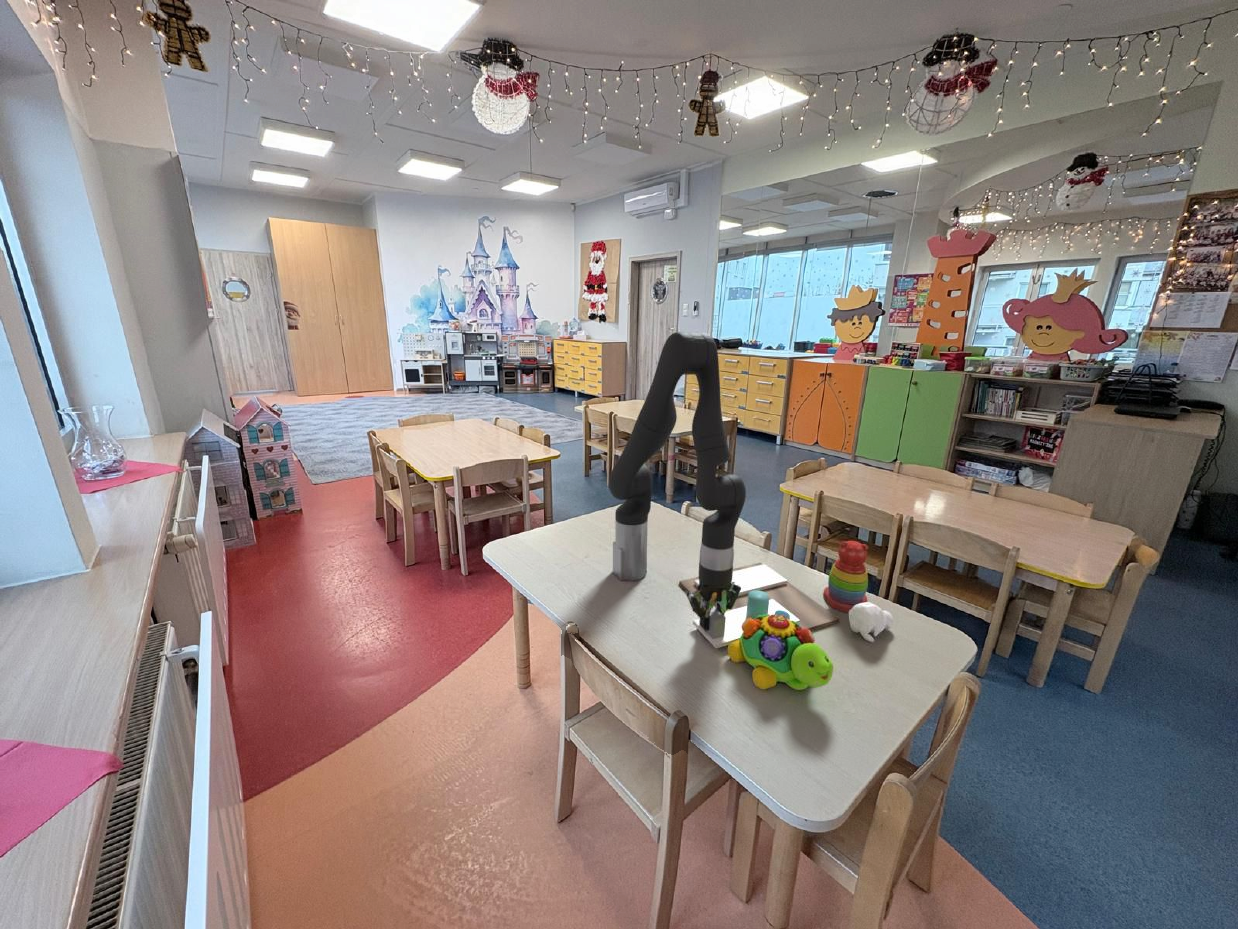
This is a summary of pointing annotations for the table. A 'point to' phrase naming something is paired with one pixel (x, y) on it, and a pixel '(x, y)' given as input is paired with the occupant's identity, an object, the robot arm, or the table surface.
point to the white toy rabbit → (869, 619)
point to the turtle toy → (781, 652)
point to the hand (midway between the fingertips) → (711, 626)
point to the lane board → (783, 603)
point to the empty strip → (755, 579)
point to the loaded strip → (732, 624)
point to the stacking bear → (848, 577)
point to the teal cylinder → (757, 604)
